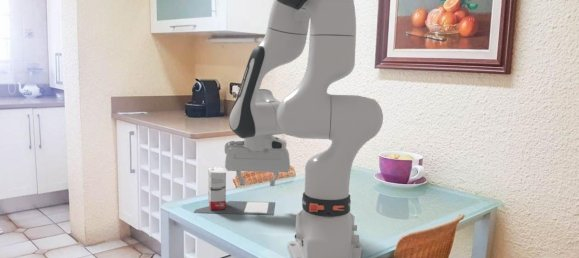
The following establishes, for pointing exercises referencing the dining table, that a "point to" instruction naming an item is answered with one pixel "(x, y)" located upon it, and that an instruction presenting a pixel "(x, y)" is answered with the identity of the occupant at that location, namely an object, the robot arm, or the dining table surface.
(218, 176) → the ink box
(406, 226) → the dining table surface
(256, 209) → the mat
